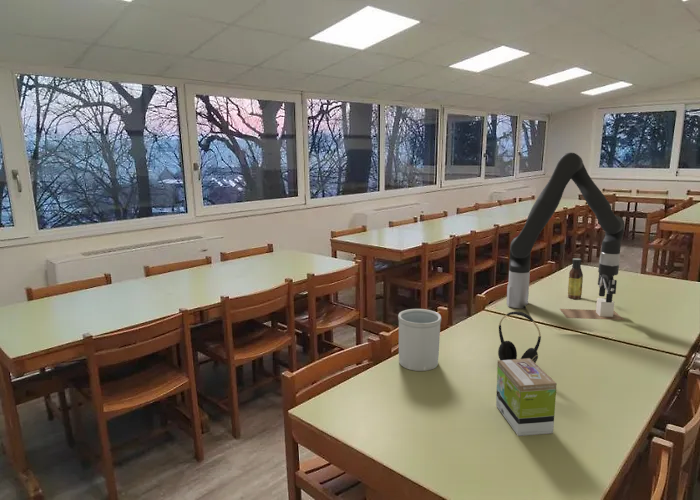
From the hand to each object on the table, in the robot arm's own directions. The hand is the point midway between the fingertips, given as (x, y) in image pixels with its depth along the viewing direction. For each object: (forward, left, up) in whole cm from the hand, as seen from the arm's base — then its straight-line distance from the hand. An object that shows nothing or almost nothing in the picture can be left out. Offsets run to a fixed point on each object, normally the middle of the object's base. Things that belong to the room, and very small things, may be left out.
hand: (605, 299), depth 200 cm
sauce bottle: (-4, +29, -9) cm, 31 cm away
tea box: (-50, -87, -9) cm, 100 cm away
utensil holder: (-79, -55, -9) cm, 96 cm away
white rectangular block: (0, 0, -7) cm, 7 cm away
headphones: (-46, -55, -9) cm, 72 cm away
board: (-5, 0, -9) cm, 10 cm away
